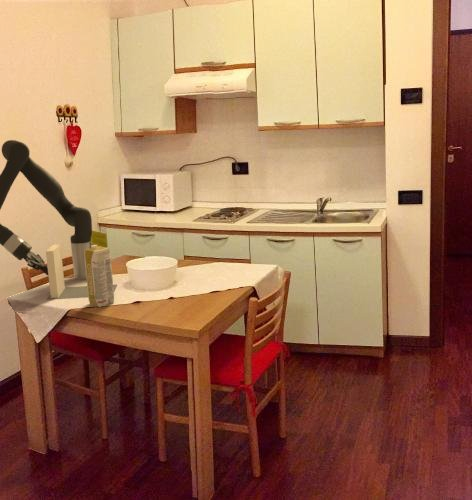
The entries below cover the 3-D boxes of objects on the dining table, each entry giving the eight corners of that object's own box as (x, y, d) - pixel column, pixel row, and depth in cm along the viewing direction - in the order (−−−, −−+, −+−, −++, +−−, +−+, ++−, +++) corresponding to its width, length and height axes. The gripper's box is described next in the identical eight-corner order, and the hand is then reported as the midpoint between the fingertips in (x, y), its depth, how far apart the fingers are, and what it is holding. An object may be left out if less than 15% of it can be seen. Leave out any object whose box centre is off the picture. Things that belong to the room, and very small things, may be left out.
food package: (111, 275, 304) (107, 233, 299) (108, 275, 303) (105, 234, 299) (95, 270, 315) (91, 230, 311) (92, 270, 314) (89, 230, 310)
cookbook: (50, 298, 268) (45, 251, 264) (58, 288, 282) (53, 244, 278) (58, 297, 268) (53, 251, 264) (65, 288, 282) (60, 243, 278)
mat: (46, 300, 266) (46, 299, 266) (55, 288, 284) (55, 287, 284) (111, 296, 267) (111, 295, 267) (117, 285, 285) (117, 284, 285)
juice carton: (104, 299, 264) (99, 242, 259) (117, 302, 259) (112, 244, 254) (86, 305, 257) (80, 246, 252) (99, 308, 252) (93, 248, 247)
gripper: (18, 243, 263) (52, 270, 266) (27, 237, 276) (59, 263, 279) (7, 257, 264) (40, 283, 267) (16, 250, 277) (48, 275, 280)
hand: (49, 273), depth 273 cm, fingers closed
